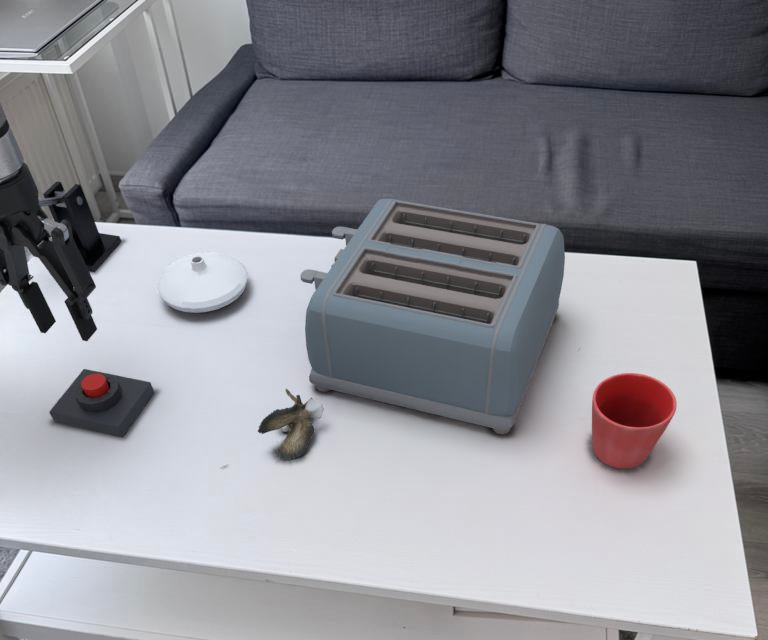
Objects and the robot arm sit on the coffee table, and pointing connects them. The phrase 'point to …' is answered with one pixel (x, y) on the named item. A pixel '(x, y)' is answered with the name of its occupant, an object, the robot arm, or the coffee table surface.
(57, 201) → the lever
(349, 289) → the toaster
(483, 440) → the coffee table surface
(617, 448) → the flower pot
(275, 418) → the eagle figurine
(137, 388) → the control block
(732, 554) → the coffee table surface
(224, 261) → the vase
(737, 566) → the coffee table surface
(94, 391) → the button
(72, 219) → the bracket
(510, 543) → the coffee table surface
